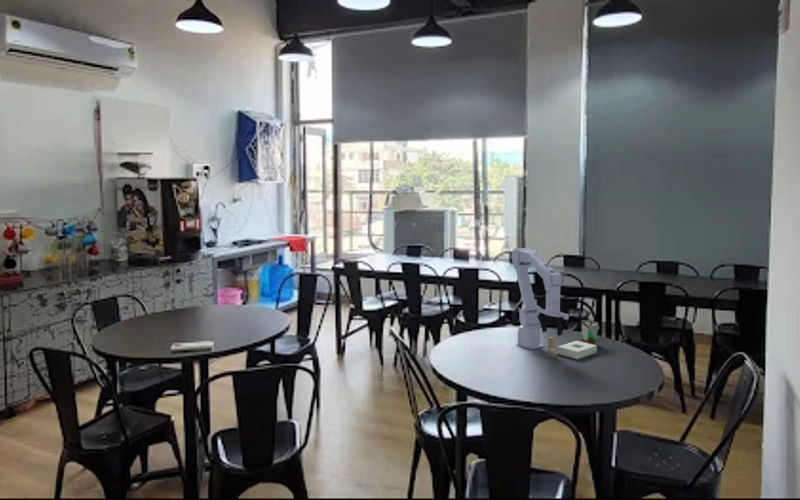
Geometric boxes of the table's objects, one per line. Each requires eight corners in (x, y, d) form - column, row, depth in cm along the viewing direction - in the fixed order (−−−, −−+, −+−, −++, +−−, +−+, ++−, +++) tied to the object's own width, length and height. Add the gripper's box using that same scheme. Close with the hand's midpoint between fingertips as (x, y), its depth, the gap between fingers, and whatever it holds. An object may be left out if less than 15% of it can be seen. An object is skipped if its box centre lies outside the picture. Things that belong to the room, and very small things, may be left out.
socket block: (557, 354, 268) (557, 346, 267) (576, 348, 277) (576, 340, 276) (577, 359, 260) (577, 351, 260) (596, 353, 269) (596, 345, 269)
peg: (545, 356, 265) (546, 337, 264) (550, 354, 267) (551, 336, 266) (552, 358, 263) (552, 339, 262) (556, 356, 265) (557, 338, 264)
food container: (602, 348, 276) (603, 326, 275) (588, 348, 276) (588, 326, 275) (594, 341, 288) (594, 319, 287) (580, 341, 288) (581, 319, 287)
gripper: (532, 300, 265) (532, 331, 267) (561, 305, 254) (561, 338, 256) (543, 297, 269) (542, 328, 271) (572, 303, 258) (571, 335, 260)
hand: (552, 333), depth 264 cm, fingers open, 7 cm apart
